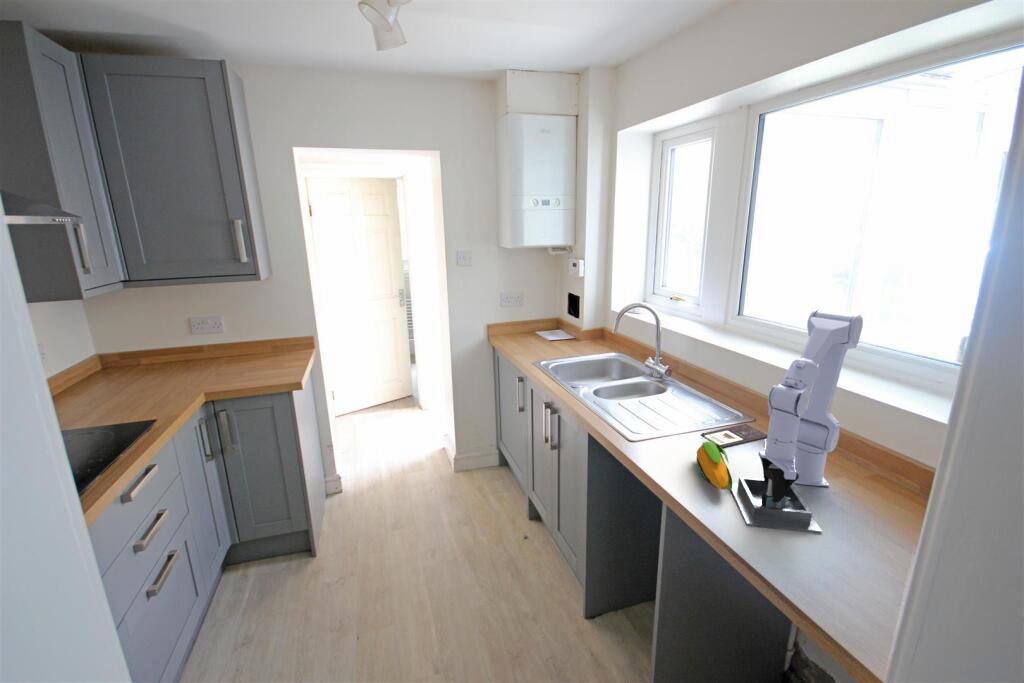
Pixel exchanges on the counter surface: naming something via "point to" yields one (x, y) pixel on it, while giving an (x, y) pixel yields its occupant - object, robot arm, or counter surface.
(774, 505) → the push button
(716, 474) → the corn
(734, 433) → the chocolate bar
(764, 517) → the grey metal tray
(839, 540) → the counter surface
